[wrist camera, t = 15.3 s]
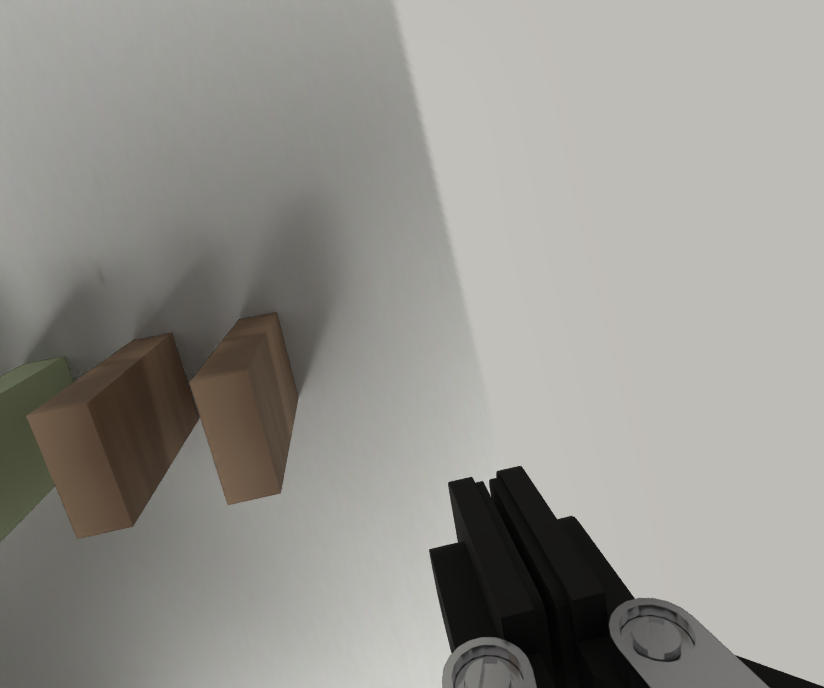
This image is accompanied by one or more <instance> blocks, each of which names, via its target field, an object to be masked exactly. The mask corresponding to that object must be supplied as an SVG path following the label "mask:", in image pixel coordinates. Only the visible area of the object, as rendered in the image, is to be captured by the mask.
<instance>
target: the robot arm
mask: <svg viewBox="0 0 824 688" xmlns="http://www.w3.org/2000/svg"><path fill="white" fill-rule="evenodd" d="M496 477H497V478H494V479H490V480H489V485H490V492H491V496H490V494H489V492H488V490H487V488H486V486H485V484H484V482H483V481H481V482H476V483H475V481H474V479H473V478H472V477H469V478H464V479H460V480H455V481H451V482H448V487H449V493H450V499H451V505H452V510H453V516H454V522H455V528H456V534H457V539H458V543H454V544H450V545H446V546H441V547H437V548H433V549H429V552H430V558H431V564H432V569H433V574H434V579H435V584H436V589H437V594H438V598H439V603H440V608H441V612H442V616H443V620H444V625H445V629H446V633H447V637H448V641H449V645H450V649H451V653H452V654H451V655H450V656H449V658H448V660H447V662H446V664H445V666H444V669H443V677H442V688H824V687H823V686H820V685H817V684H814V683H812V682H809V681H806V680H803V679H801V678H798V677H795V676H792V675H789V674H787V673H784V672H781V671H778V670H775V669H772V668H770V667H767V666H764V665H761V664H759V663H756V662H753V661H750V660H747V659H745V658H742V657H739V656H736V655H734V654H733V653H732V652H731V651H730V650H729V649H728V648H726V647H725V646H724V645H723V644H722V643H721V642H720V641H719V640H718V639H717V638H716V637H715V636H714V635H713V634H711V633H710V632H709V631H708V630H707V629H706V628H705V627H704V626H703V625H702V624H701V623H700V622H699V621H698V620H696V619H695V618H694V617H693V616H692V615H691V614H689V613H688V612H687V611H685V610H684V609H683V608H681V607H679V606H677V605H675V604H672V603H670V602H668V601H663V600H659V599H654V598H637V599H635V598H634V597H633V596H632V594H631V593H630V592H629V590H628V589H627V587H626V586H625V585H624V583H623V582H622V580H621V579H620V578H619V577H618V575H617V574H616V572H615V571H614V569H613V568H612V567H611V565H610V564H609V563H608V561H607V560H606V558H605V557H604V556H603V554H602V553H601V552H600V550H599V549H598V548H597V546H596V545H595V543H594V542H593V541H592V539H591V538H590V536H589V535H588V534H587V532H586V531H585V530H584V528H583V527H582V525H581V524H580V523H579V522H578V520H577V519H576V518H575V517H573V516H569V517H565V518H561V519H557V518H556V517H555V515H554V514H553V512H552V511H551V509H550V508H549V506H548V505H547V503H546V502H545V500H544V499H543V497H542V496H541V494H540V493H539V491H538V490H537V489H536V487H535V485H534V484H533V483H532V481H531V480H530V478H529V476H528V475H527V474H526V472H525V471H524V469H523V468H522V467H521V466H518V467H513V468H509V469H504V470H500V471H497V473H496Z"/></svg>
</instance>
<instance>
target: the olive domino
mask: <svg viewBox="0 0 824 688" xmlns="http://www.w3.org/2000/svg"><path fill="white" fill-rule="evenodd" d="M73 382H74V381H73V378H72V376H71V373H70V370H69V368H68V365H67V362H66V360H65V357H64V356H63V357H58V358H52V359H47V360H42V361H37V362H32V363H27V364H23V365H21V366H19V367H18V368H16V369H14V370H12V371H10V372H8V373H6V374H4V375H3V376H1V377H0V542H1V541H2V540H3V539H4V538H5V537H6V536H7V535H8V534H9V533H10V532H11V531H12V530H13V529H14V528H15V527H16V526H17V525H18V524H19V523H20V521H21V520H22V519H23V518H24V517H25V516H26V515H27V514H28V513H29V512H30V511H31V510H32V509H33V508H34V507H35V506H36V505H37V504H38V503H39V502H40V501H41V500H42V499H43V498H44V497H45V496H46V495H47V494H48V493H49V492H50V491H51V489H52V488H53V487H54V486H55V484H54V482H53V479H52V477H51V474H50V472H49V470H48V467H47V465H46V462H45V460H44V458H43V455H42V453H41V450H40V448H39V446H38V443H37V441H36V438H35V436H34V434H33V431H32V429H31V426H30V424H29V422H28V419H27V417H26V416H27V415H28V414H30V413H31V412H32V411H34V410H35V409H37V408H38V407H39V406H41V405H42V404H44V403H45V402H47V401H48V400H49V399H51V398H52V397H54V396H55V395H56V394H58V393H59V392H61V391H62V390H63V389H65V388H66V387H68V386H69V385H70V384H72V383H73Z"/></svg>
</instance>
